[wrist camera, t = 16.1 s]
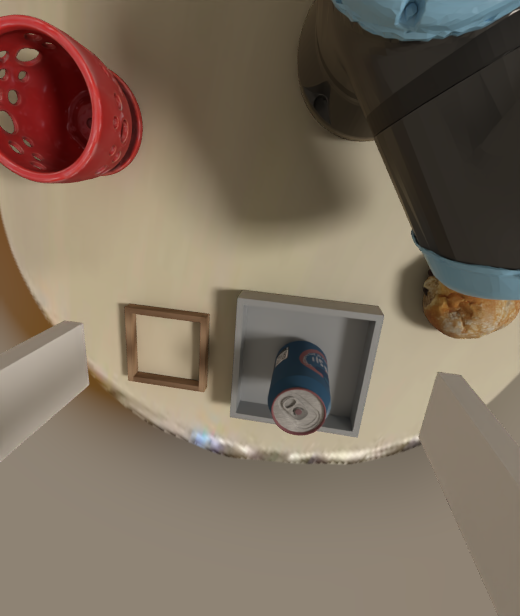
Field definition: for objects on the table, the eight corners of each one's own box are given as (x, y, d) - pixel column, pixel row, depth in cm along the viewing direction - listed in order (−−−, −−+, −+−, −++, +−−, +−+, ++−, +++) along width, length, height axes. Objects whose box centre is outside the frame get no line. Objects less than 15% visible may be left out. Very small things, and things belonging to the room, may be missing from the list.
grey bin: (242, 289, 45) (237, 297, 42) (378, 306, 43) (384, 315, 40) (235, 402, 51) (229, 417, 48) (354, 421, 49) (357, 437, 46)
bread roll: (430, 324, 47) (467, 367, 41) (397, 282, 41) (434, 324, 35) (499, 279, 44) (550, 318, 37) (473, 227, 38) (529, 263, 32)
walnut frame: (129, 303, 48) (124, 307, 47) (209, 314, 47) (206, 317, 45) (133, 375, 52) (128, 380, 50) (206, 386, 51) (204, 392, 49)
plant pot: (53, 171, 44) (-37, 164, 32) (55, 51, 39) (-48, -6, 28) (149, 196, 43) (92, 197, 32) (163, 77, 38) (102, 29, 27)
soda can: (337, 362, 46) (346, 417, 35) (299, 390, 48) (296, 451, 37) (303, 326, 45) (300, 371, 34) (265, 357, 47) (251, 408, 36)
